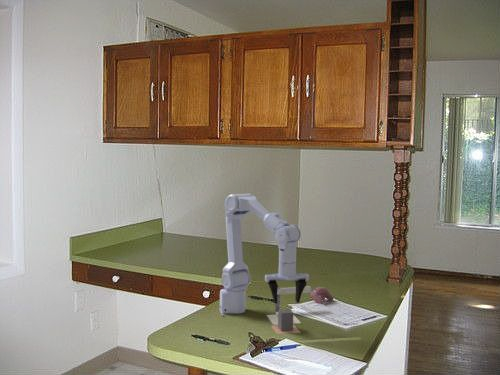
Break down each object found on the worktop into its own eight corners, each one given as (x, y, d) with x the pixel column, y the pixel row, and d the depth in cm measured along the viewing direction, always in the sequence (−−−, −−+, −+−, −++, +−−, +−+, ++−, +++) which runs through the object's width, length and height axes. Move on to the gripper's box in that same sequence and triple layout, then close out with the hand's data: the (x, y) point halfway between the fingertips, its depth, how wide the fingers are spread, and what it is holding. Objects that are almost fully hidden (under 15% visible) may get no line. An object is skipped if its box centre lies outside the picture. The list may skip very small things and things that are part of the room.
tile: (276, 336, 168) (277, 333, 168) (270, 327, 176) (271, 325, 176) (300, 335, 170) (300, 332, 169) (293, 326, 177) (293, 324, 177)
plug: (281, 331, 170) (281, 313, 170) (278, 327, 174) (278, 309, 174) (292, 330, 171) (293, 312, 171) (289, 326, 175) (289, 309, 175)
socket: (273, 326, 177) (273, 306, 176) (263, 313, 191) (264, 294, 190) (301, 325, 179) (301, 304, 178) (289, 312, 193) (290, 293, 192)
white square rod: (311, 292, 193) (311, 287, 193) (275, 295, 189) (275, 289, 189) (308, 290, 196) (308, 285, 196) (273, 293, 191) (273, 288, 191)
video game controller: (325, 302, 211) (319, 286, 212) (335, 299, 208) (328, 283, 210) (313, 308, 203) (307, 291, 205) (322, 305, 201) (316, 288, 202)
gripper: (268, 265, 165) (267, 306, 166) (312, 263, 168) (311, 304, 169) (263, 260, 172) (262, 300, 173) (305, 259, 175) (304, 298, 176)
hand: (286, 302), depth 172 cm, fingers open, 7 cm apart
